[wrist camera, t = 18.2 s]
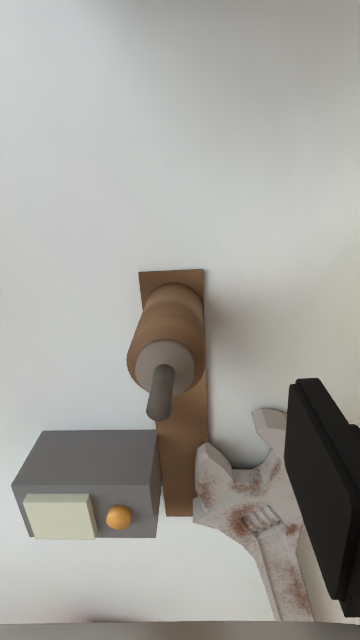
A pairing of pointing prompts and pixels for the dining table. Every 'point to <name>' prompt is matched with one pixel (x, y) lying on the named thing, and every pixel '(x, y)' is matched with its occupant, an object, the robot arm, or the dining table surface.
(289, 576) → the wrench
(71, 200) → the dining table surface
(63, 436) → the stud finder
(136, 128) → the dining table surface
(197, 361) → the awl
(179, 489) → the strip
